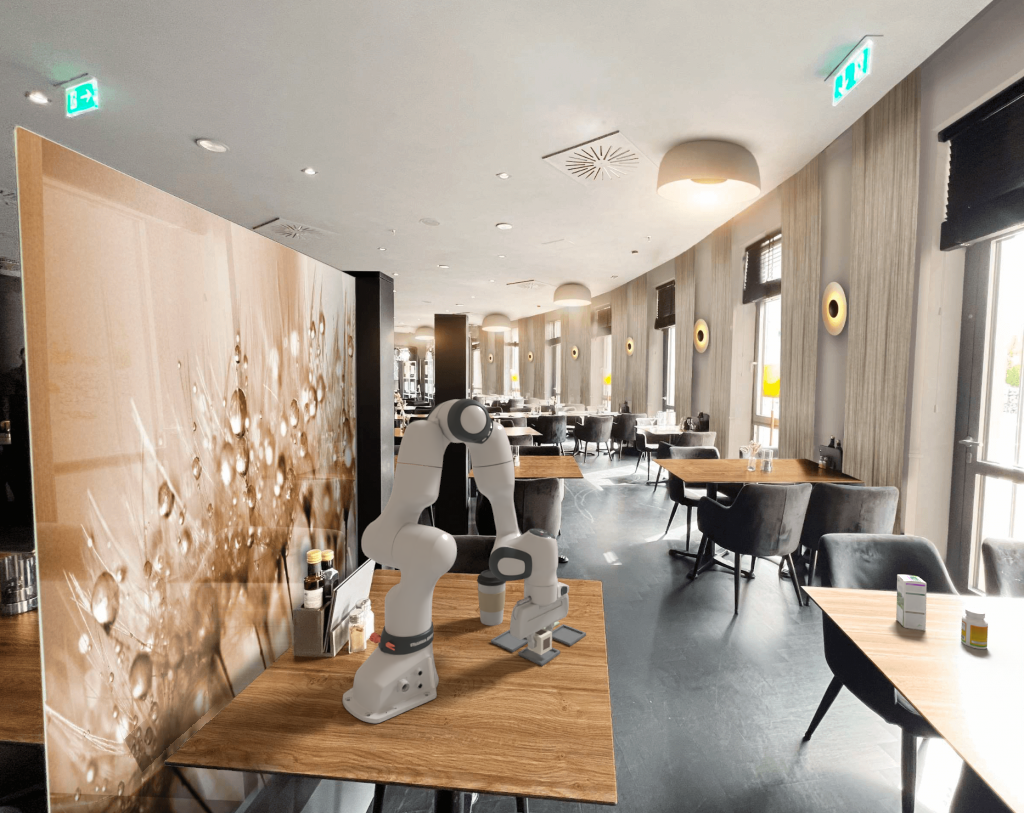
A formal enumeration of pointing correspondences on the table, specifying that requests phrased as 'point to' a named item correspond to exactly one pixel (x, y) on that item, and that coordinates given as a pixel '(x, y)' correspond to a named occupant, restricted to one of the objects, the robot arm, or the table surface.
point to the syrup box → (911, 602)
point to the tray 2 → (539, 656)
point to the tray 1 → (509, 641)
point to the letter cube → (542, 641)
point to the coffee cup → (491, 598)
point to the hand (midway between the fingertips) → (539, 643)
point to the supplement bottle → (974, 629)
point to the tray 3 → (567, 635)
